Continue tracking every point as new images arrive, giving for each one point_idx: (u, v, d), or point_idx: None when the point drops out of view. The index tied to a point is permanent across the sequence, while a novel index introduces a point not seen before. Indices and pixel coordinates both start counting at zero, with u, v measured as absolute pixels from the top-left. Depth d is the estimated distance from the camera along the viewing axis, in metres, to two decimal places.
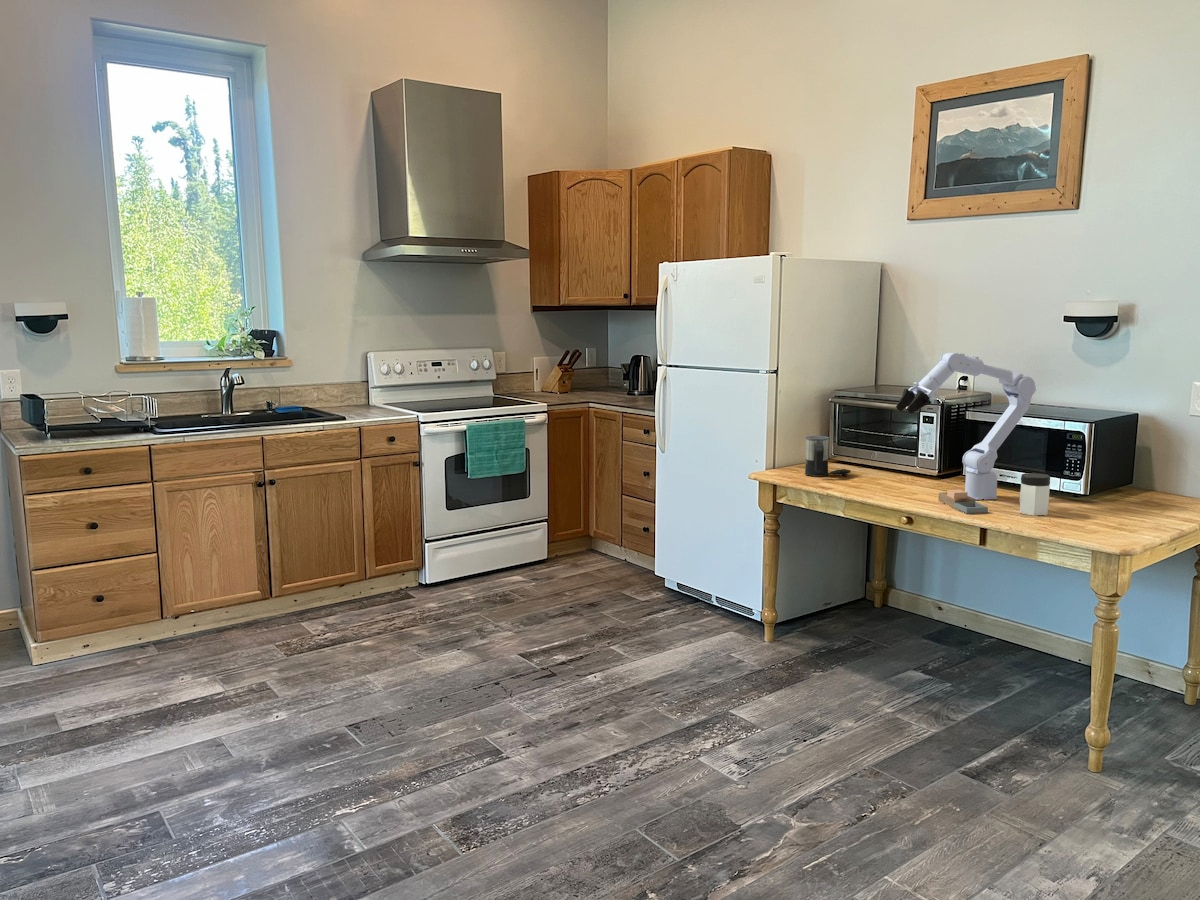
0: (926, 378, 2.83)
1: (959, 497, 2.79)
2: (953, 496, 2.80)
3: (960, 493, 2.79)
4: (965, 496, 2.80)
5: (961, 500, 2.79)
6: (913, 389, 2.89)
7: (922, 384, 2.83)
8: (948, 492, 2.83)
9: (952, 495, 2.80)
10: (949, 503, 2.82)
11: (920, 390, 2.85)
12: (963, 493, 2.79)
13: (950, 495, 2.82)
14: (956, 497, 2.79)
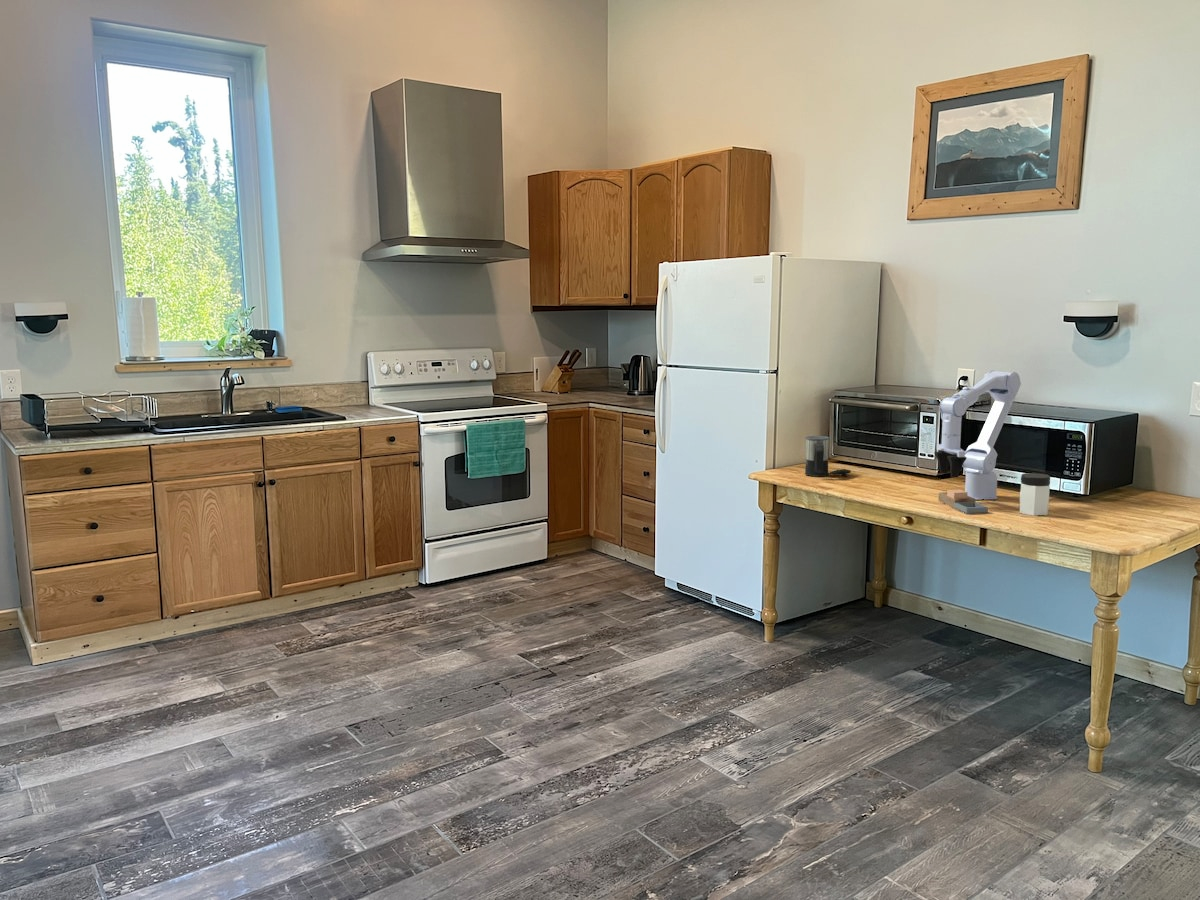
0: (944, 438, 2.82)
1: (959, 497, 2.79)
2: (953, 496, 2.80)
3: (960, 493, 2.79)
4: (965, 496, 2.80)
5: (961, 500, 2.79)
6: None
7: (946, 446, 2.82)
8: (948, 492, 2.83)
9: (952, 495, 2.80)
10: (949, 503, 2.82)
11: None
12: (963, 493, 2.79)
13: (950, 495, 2.82)
14: (956, 497, 2.79)
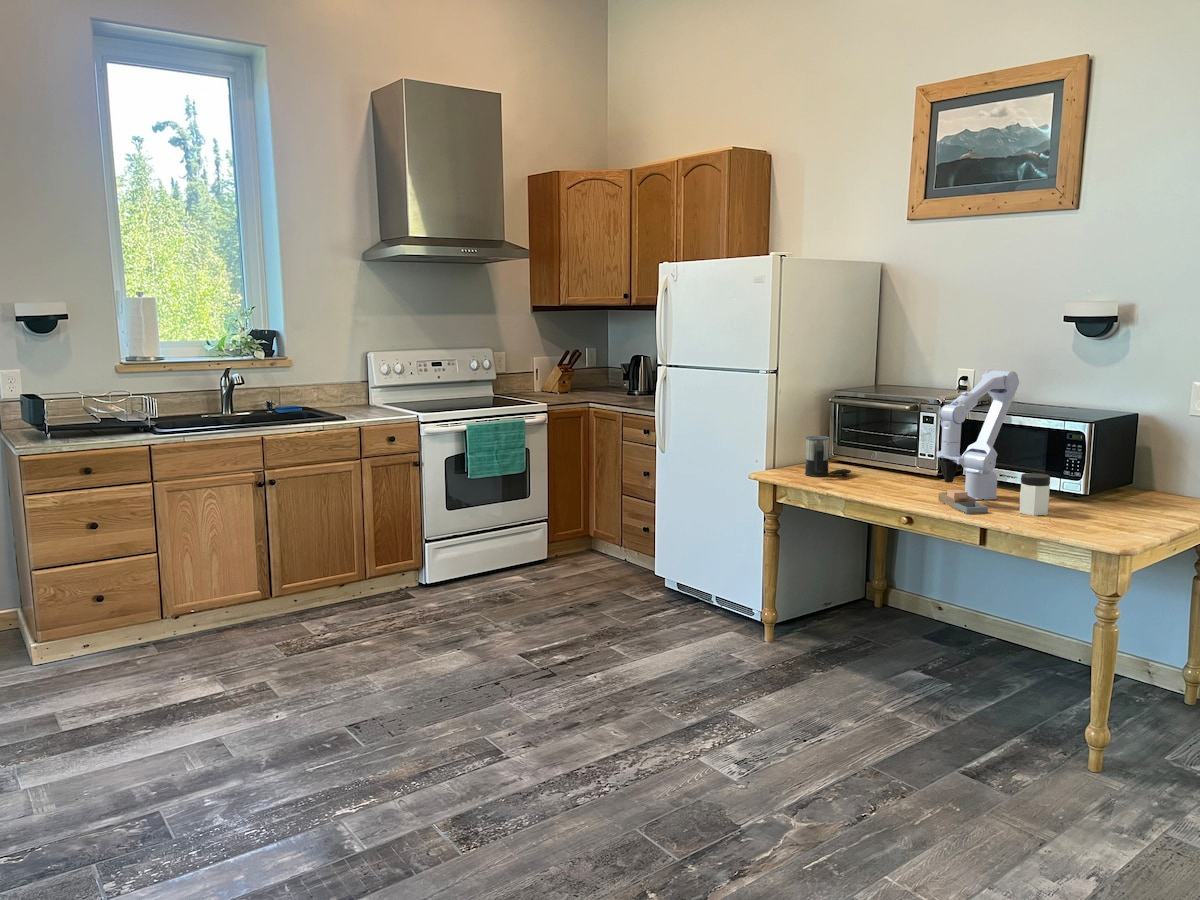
0: (944, 445, 2.82)
1: (959, 497, 2.79)
2: (953, 496, 2.80)
3: (960, 493, 2.79)
4: (965, 496, 2.80)
5: (961, 500, 2.79)
6: (940, 454, 2.89)
7: (945, 453, 2.82)
8: (948, 492, 2.83)
9: (952, 495, 2.80)
10: (949, 503, 2.82)
11: None
12: (963, 493, 2.79)
13: (950, 495, 2.82)
14: (956, 497, 2.79)
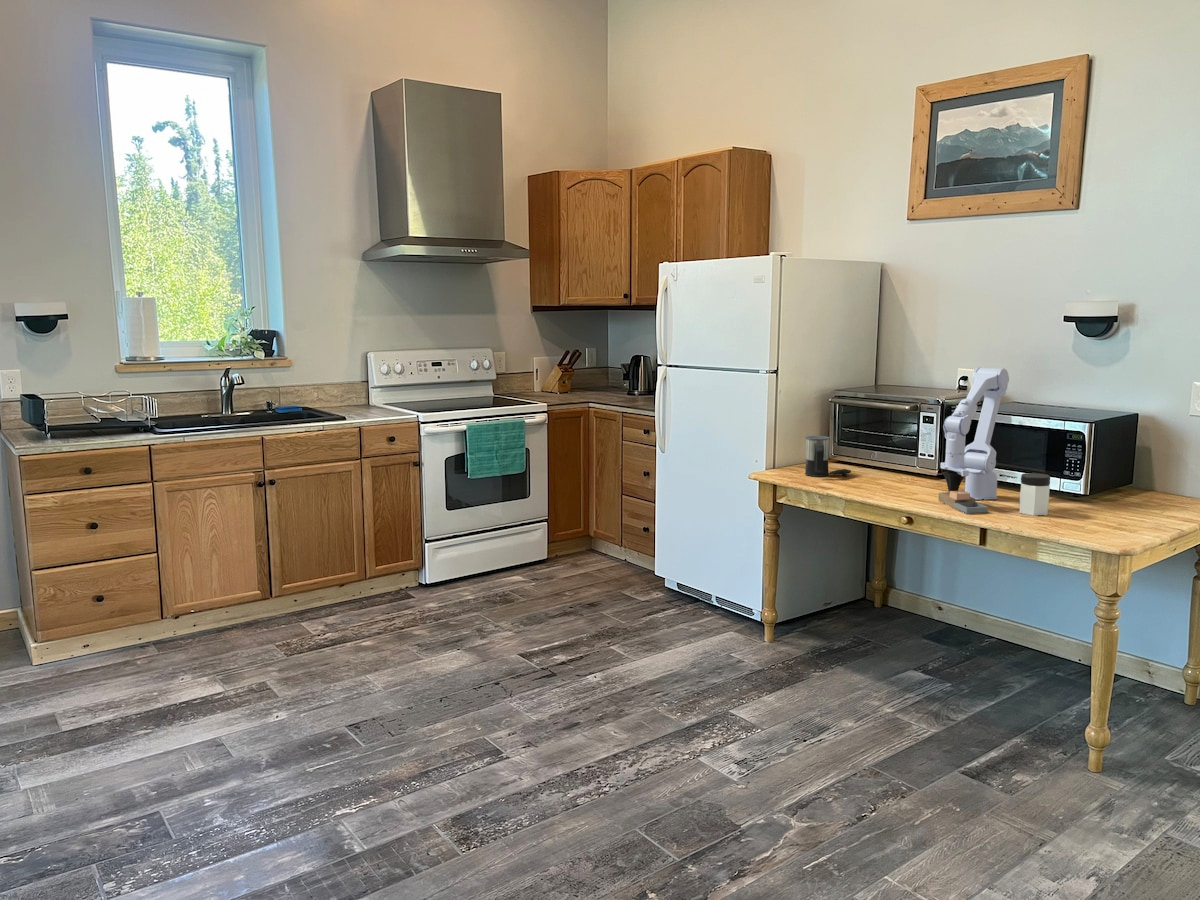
0: (948, 457, 2.80)
1: (961, 498, 2.78)
2: (956, 497, 2.78)
3: (962, 494, 2.78)
4: (968, 497, 2.78)
5: (961, 500, 2.79)
6: None
7: (950, 465, 2.80)
8: (950, 493, 2.81)
9: (955, 496, 2.78)
10: (949, 503, 2.82)
11: None
12: (965, 494, 2.78)
13: (952, 496, 2.80)
14: (958, 498, 2.78)
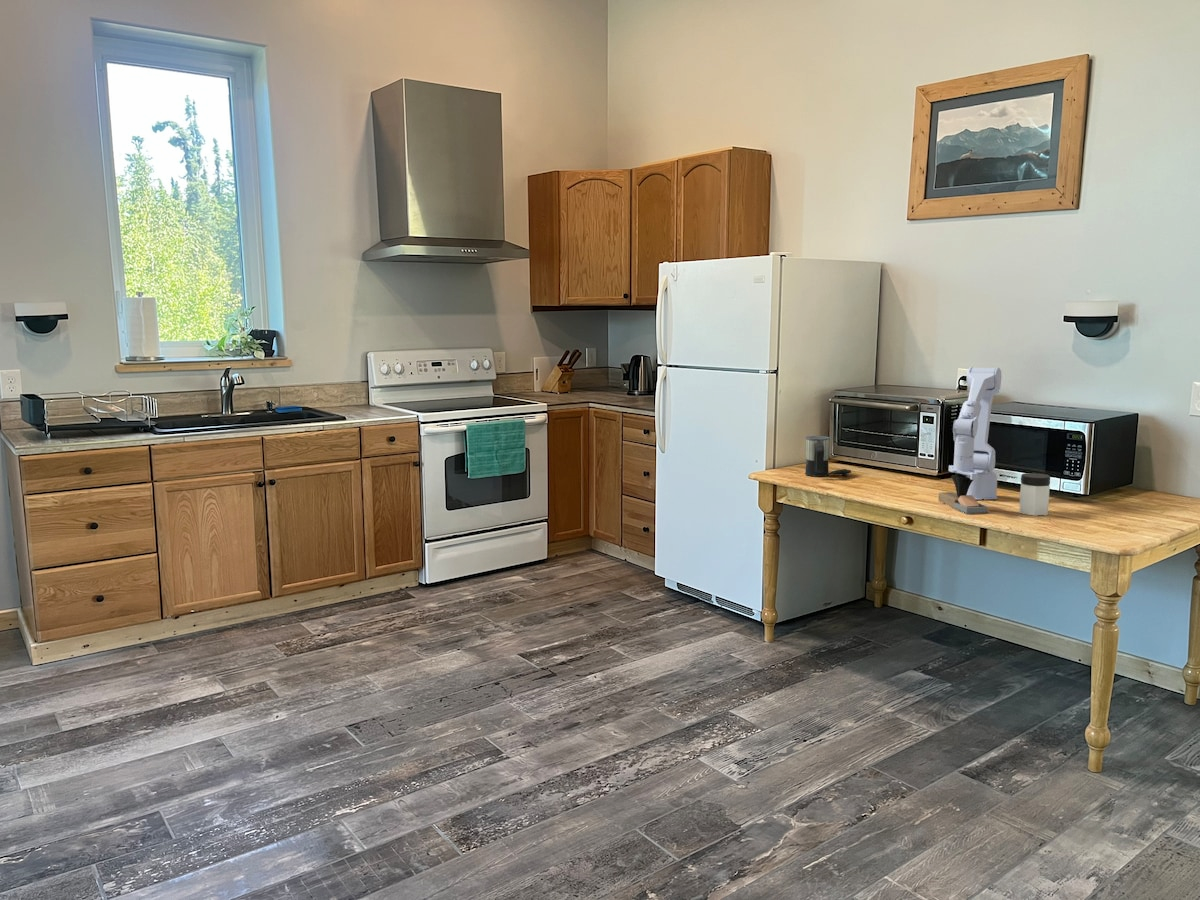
0: (957, 460, 2.75)
1: None
2: None
3: (972, 506, 2.74)
4: None
5: None
6: None
7: (958, 468, 2.75)
8: (960, 499, 2.76)
9: None
10: (949, 503, 2.82)
11: None
12: (975, 506, 2.74)
13: (961, 503, 2.76)
14: None
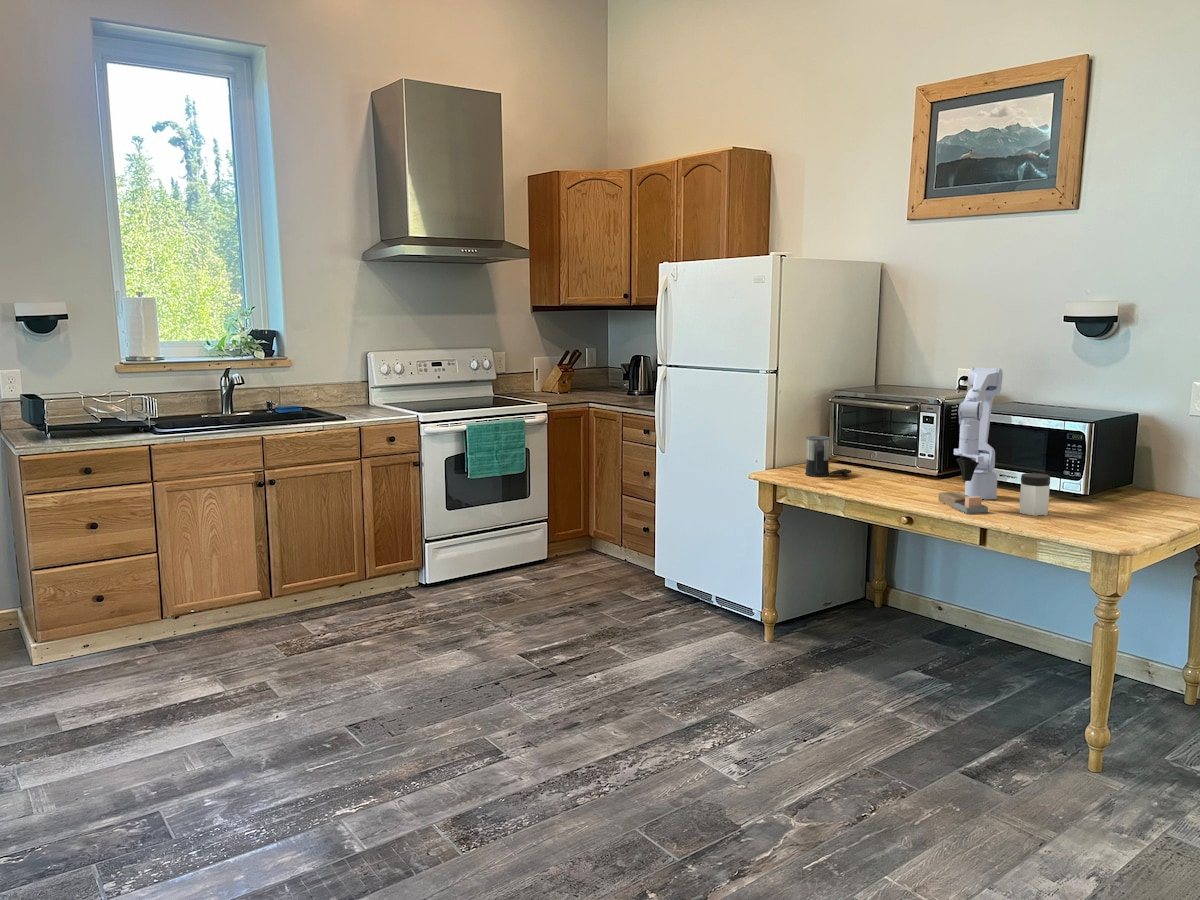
0: (962, 443, 2.74)
1: None
2: None
3: None
4: None
5: (961, 500, 2.79)
6: None
7: (964, 451, 2.74)
8: (967, 500, 2.73)
9: None
10: (949, 503, 2.82)
11: None
12: None
13: (966, 503, 2.74)
14: None
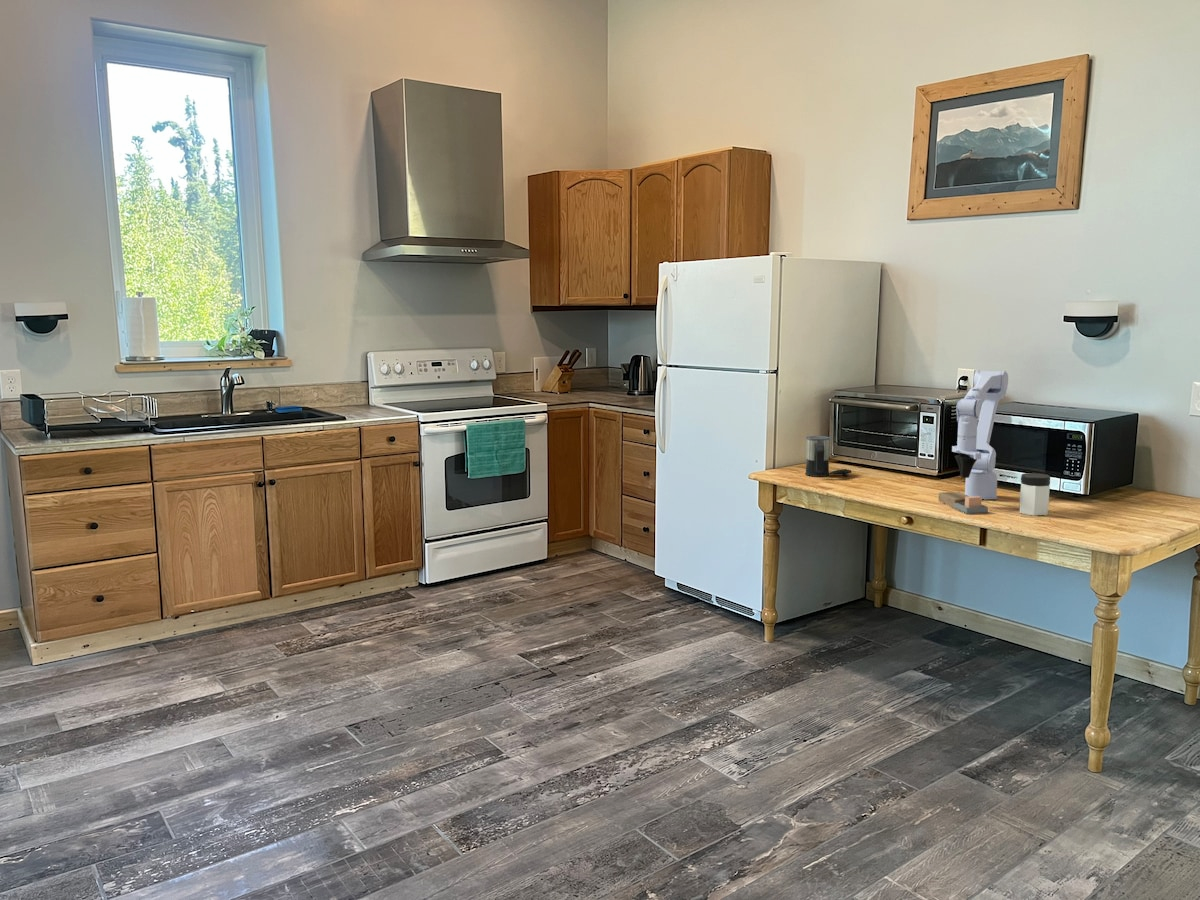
0: (960, 440, 2.78)
1: None
2: None
3: None
4: None
5: (961, 500, 2.79)
6: None
7: (962, 448, 2.78)
8: (967, 500, 2.73)
9: None
10: (949, 503, 2.82)
11: None
12: None
13: (966, 503, 2.74)
14: None
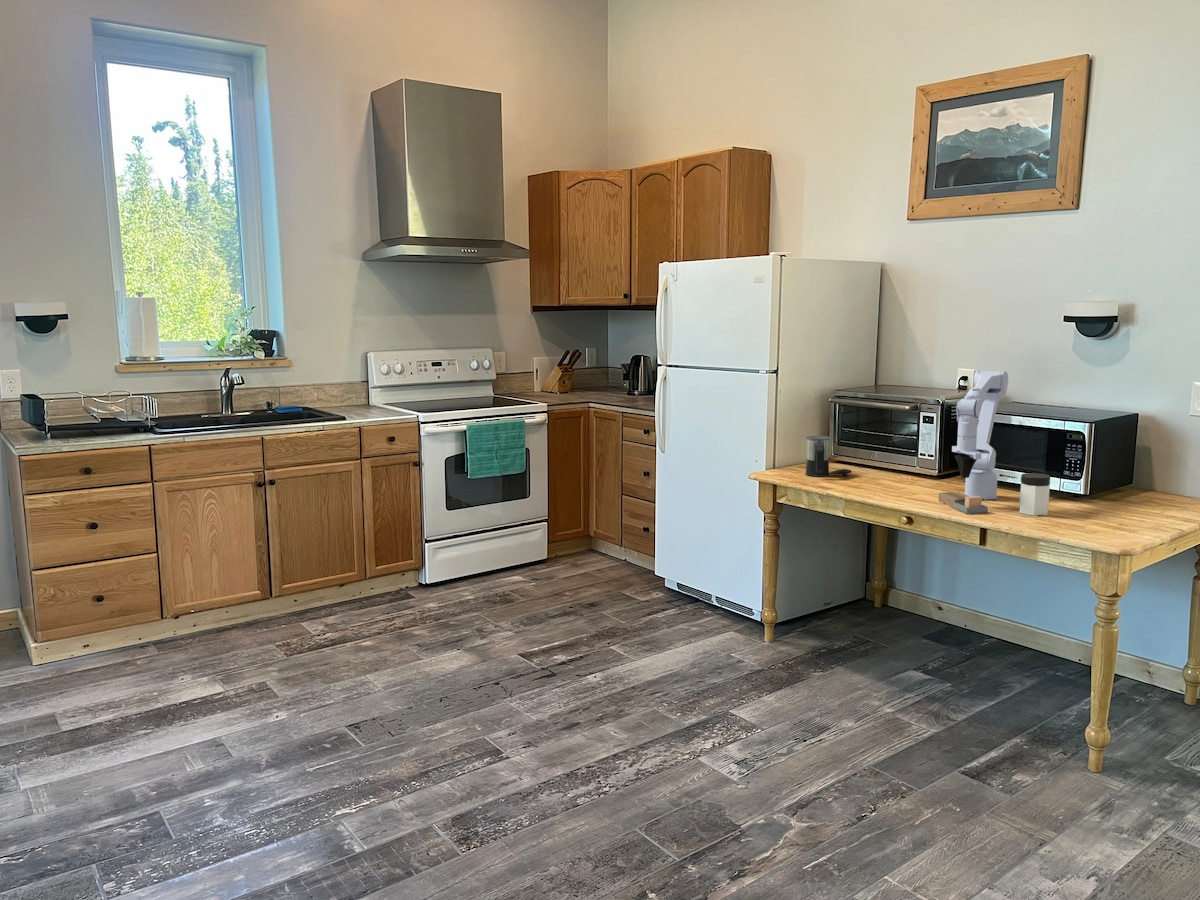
0: (960, 440, 2.78)
1: None
2: None
3: None
4: None
5: (961, 500, 2.79)
6: None
7: (962, 448, 2.78)
8: (967, 500, 2.73)
9: None
10: (949, 503, 2.82)
11: None
12: None
13: (966, 503, 2.74)
14: None
